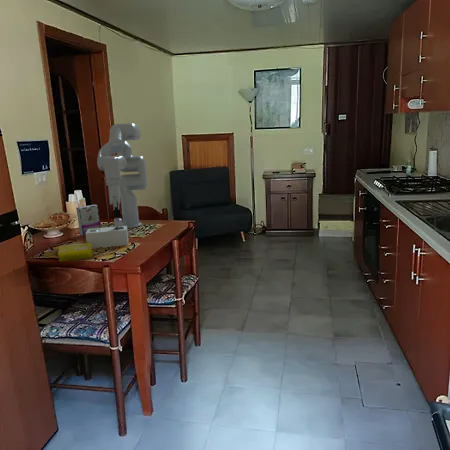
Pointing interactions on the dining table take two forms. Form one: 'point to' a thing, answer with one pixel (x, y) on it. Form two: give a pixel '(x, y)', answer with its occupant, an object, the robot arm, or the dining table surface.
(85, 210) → the candy bar box
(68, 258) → the element tile
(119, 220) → the pin inner
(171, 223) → the dining table surface
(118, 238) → the pin block
